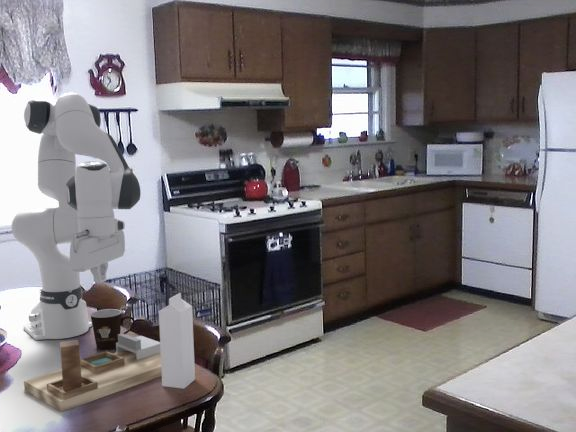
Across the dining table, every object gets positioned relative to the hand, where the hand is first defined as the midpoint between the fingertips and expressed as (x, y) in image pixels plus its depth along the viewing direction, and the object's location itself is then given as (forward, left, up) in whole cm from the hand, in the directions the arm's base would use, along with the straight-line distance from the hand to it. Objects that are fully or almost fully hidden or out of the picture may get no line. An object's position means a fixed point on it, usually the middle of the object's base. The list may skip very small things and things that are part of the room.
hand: (100, 281), depth 159 cm
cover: (0, +10, -21) cm, 24 cm away
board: (+4, -2, -24) cm, 24 cm away
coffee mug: (-16, +12, -24) cm, 32 cm away
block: (+9, -14, -22) cm, 27 cm away
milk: (+20, +8, -24) cm, 32 cm away
